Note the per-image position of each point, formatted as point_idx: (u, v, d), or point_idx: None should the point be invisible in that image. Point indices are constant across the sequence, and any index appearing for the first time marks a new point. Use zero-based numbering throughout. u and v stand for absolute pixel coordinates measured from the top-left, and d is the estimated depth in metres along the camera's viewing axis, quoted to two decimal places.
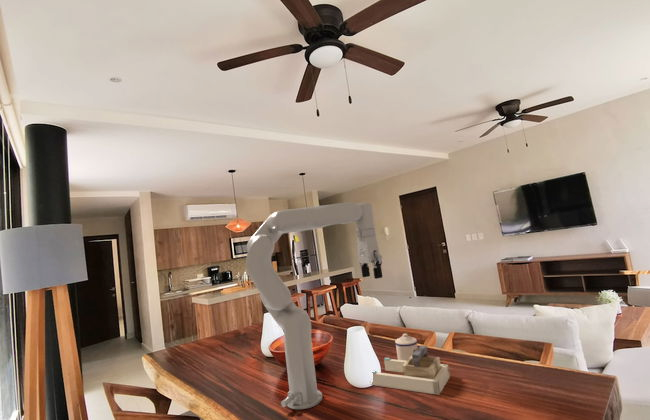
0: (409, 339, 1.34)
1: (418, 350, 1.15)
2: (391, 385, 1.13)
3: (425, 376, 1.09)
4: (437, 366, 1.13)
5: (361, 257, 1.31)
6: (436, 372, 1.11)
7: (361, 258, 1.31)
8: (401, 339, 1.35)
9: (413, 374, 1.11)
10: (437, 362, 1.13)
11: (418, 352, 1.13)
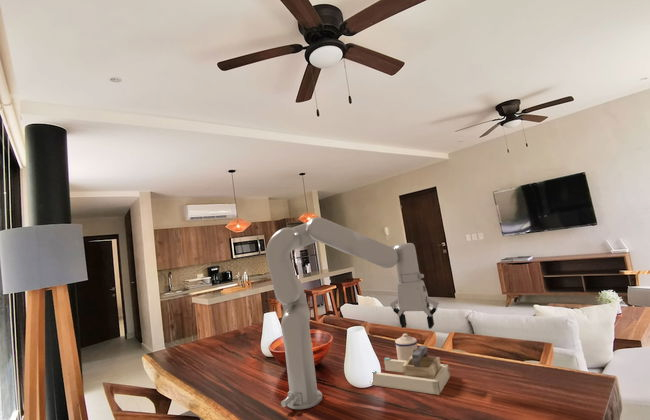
0: (409, 339, 1.34)
1: (418, 350, 1.15)
2: (391, 385, 1.13)
3: (425, 376, 1.09)
4: (437, 366, 1.13)
5: None
6: (436, 372, 1.11)
7: None
8: (401, 339, 1.35)
9: (413, 374, 1.11)
10: (437, 362, 1.13)
11: (418, 352, 1.13)
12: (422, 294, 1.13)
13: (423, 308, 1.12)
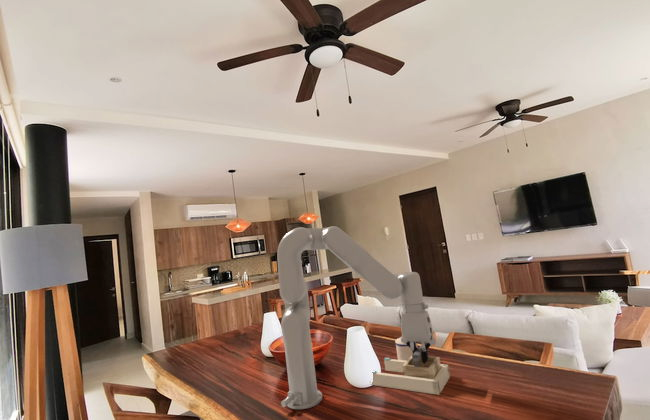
0: None
1: (418, 350, 1.15)
2: (391, 385, 1.13)
3: (425, 376, 1.09)
4: (437, 366, 1.13)
5: None
6: (436, 372, 1.11)
7: None
8: None
9: (413, 374, 1.11)
10: (437, 362, 1.13)
11: (418, 352, 1.13)
12: (426, 325, 1.12)
13: (427, 340, 1.12)
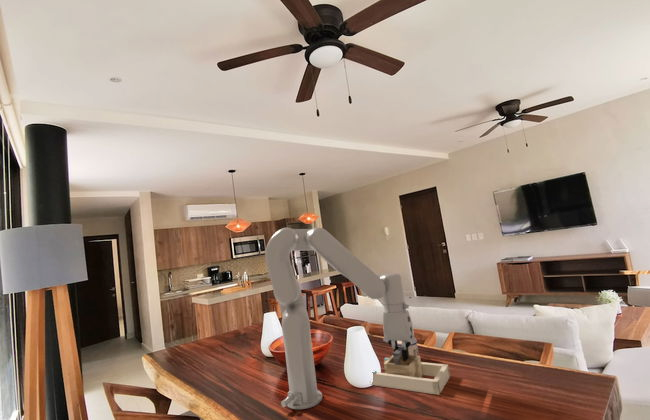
0: None
1: (399, 348, 1.19)
2: (391, 385, 1.13)
3: (405, 374, 1.13)
4: (417, 364, 1.17)
5: None
6: (416, 369, 1.15)
7: None
8: None
9: (393, 372, 1.15)
10: (417, 360, 1.17)
11: (399, 350, 1.17)
12: (406, 325, 1.16)
13: (407, 338, 1.15)
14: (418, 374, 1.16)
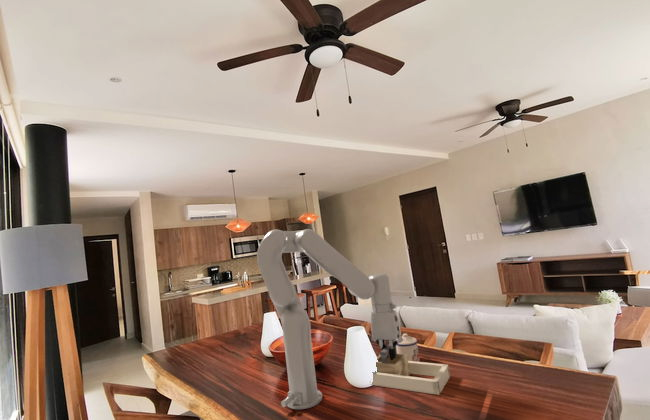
0: (409, 339, 1.34)
1: (386, 347, 1.21)
2: (391, 385, 1.13)
3: (391, 372, 1.15)
4: (404, 362, 1.19)
5: None
6: (403, 368, 1.18)
7: None
8: None
9: (380, 370, 1.18)
10: (404, 359, 1.20)
11: (386, 349, 1.20)
12: (393, 324, 1.18)
13: (394, 338, 1.18)
14: (405, 372, 1.19)
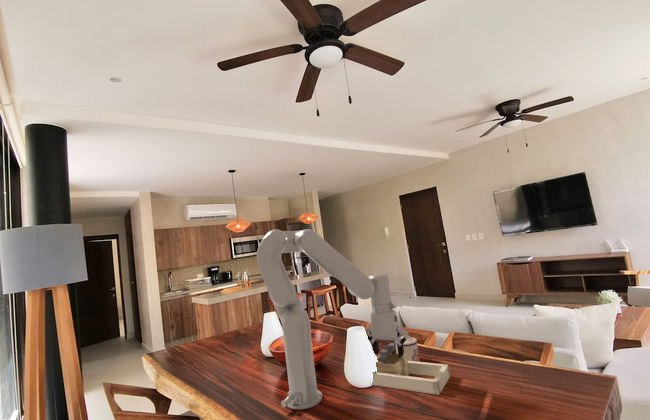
0: (409, 339, 1.34)
1: (386, 347, 1.21)
2: (391, 385, 1.13)
3: (391, 372, 1.15)
4: (404, 362, 1.19)
5: None
6: (402, 368, 1.18)
7: None
8: None
9: (380, 370, 1.18)
10: (404, 359, 1.20)
11: (386, 349, 1.20)
12: (393, 324, 1.18)
13: (394, 337, 1.18)
14: (404, 372, 1.19)
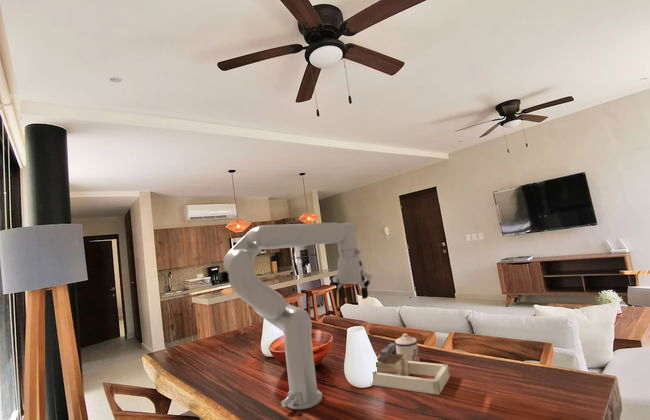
0: (409, 339, 1.34)
1: (386, 347, 1.21)
2: (391, 385, 1.13)
3: (391, 372, 1.15)
4: (404, 362, 1.19)
5: None
6: (402, 368, 1.18)
7: None
8: (401, 339, 1.35)
9: (380, 370, 1.18)
10: (404, 359, 1.20)
11: (386, 349, 1.20)
12: (357, 268, 1.25)
13: (358, 280, 1.25)
14: (404, 372, 1.19)
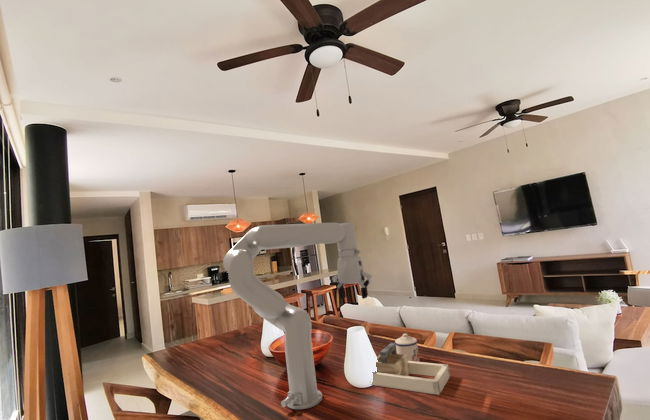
0: (409, 339, 1.34)
1: (386, 347, 1.21)
2: (391, 385, 1.13)
3: (391, 372, 1.15)
4: (404, 362, 1.19)
5: None
6: (402, 368, 1.18)
7: None
8: (401, 339, 1.35)
9: (380, 370, 1.18)
10: (404, 359, 1.20)
11: (386, 349, 1.20)
12: (357, 268, 1.26)
13: (358, 280, 1.25)
14: (404, 372, 1.19)
